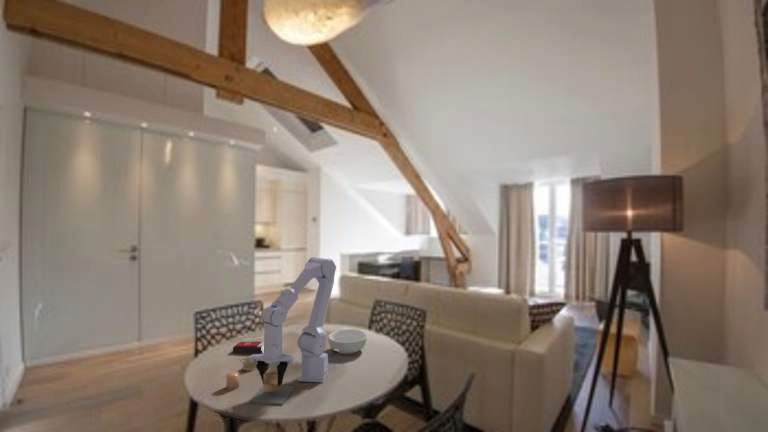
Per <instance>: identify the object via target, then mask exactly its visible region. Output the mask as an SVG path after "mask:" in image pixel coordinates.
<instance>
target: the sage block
mask: <svg viewBox="0 0 768 432" xmlns="http://www.w3.org/2000/svg"><path fill="white" fill-rule="evenodd" d="M278 364H280V363H279V362H272V363H269V365H268V369H269V368H270V369H277V366H278Z"/></svg>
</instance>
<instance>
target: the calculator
mask: <svg viewBox="0 0 768 432" xmlns="http://www.w3.org/2000/svg"><path fill="white" fill-rule="evenodd" d="M263 345H264V337H256V338H255V337H246V338H245V337H244V338H243V339H242V340H241V341H239V342H238V343H236V344H235V345H234V346H233V347H232V354H234V355H235V354H236V355H253V354H263V353H262V351H261V347H262V346H263Z"/></svg>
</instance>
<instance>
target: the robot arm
mask: <svg viewBox="0 0 768 432" xmlns="http://www.w3.org/2000/svg"><path fill="white" fill-rule="evenodd" d="M336 271H337V265H336V263H335V262H334V260H333V259H331V258H323V257H317V256H316V257H315V256H311V257H310V258H309V259H308V261H307V262H306V263H305V264H304V268H303V270H302V271H301V273H300V274H299V276H298V277H297V278H296V280H295V281H294V282H293V284H292V285H291V286H290V287H288V288H287V287H286V288H284V289H282V290H281V292H280V294H279V295H278V296H277V298H276V299H274V301H272V302H271V305H268V306H266V307H265V308H264V309H263V310H262V312H261V315H260V320H261V322H262V323H263V329H264V330H263V338H264V354H251V355H252V356H251V355H250V356H251V362H255V361H256V362H258V363H257V365H256V368H257V369H256V370H257V371H258V373H259V374H260V379H261V381H262V383H263V374H264V373H265V372H266V371H267V370H268V365H269V363H272V362H279V363H280V364H278V366H277V371H278V386H280V385H281V384H282V385H283V380H284V377H285V374H286V371H287V368H288V365H294V363H295V362H296V355H290V354H286V353H283V323H284V322H286V319H287V317H288V316H287V314H288V313H289V311H290V310H291V308H292V307H293V306H294V304H295V303H296V302H297V301H298V299H299V293H300V292H301V291H302V290H303V289H304V288H305V287H306V286H307V285H308V283H310V282H311V281H312V279H316V281H317V284H318V286H317V290H316V294H315V298H314V302H313V304H312V305H313V306H312V308H311V314H310V317H309V321H308V324H307V325H306V326H304V327H303V328H302V331H301V334H300V335H299V337H298V338H297V347H298V348H299V349H300V353H301V374H300V376H299V377H298V379H297V382H303V383H304V382H309V383H324V382H325V381H326V378H327V376H328V374H329V355H328V353H325V352H324V351H325V349H326V347H327V335H328V334H327V333H326V331H325V330H324V324H325V320H326V315H327V312H328V308H329V304H330V300H331V296H332V292H333V288H334V283H335V274H336Z"/></svg>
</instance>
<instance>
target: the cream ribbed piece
mask: <svg viewBox="0 0 768 432" xmlns="http://www.w3.org/2000/svg"><path fill="white" fill-rule="evenodd" d="M252 355H253V354H250V355H248V356H247V357H239V358H238V360H239V361H240V362H241V363H242V367H241V370H243V371H247V372H249V371H251V372H252V371H254V370H255V371H256V370H258V369H257V368H256V365H257V363H258V362H256V361H255V362H251V356H252Z"/></svg>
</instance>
